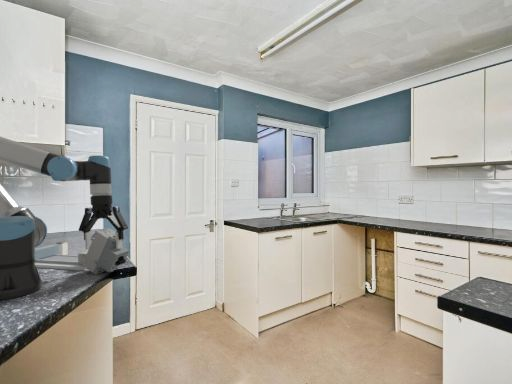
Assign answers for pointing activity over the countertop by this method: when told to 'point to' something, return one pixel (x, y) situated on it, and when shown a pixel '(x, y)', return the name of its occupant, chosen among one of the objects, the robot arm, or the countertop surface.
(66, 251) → the relay block
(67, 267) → the rail board
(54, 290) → the countertop surface
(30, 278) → the robot arm
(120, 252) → the circuit breaker
